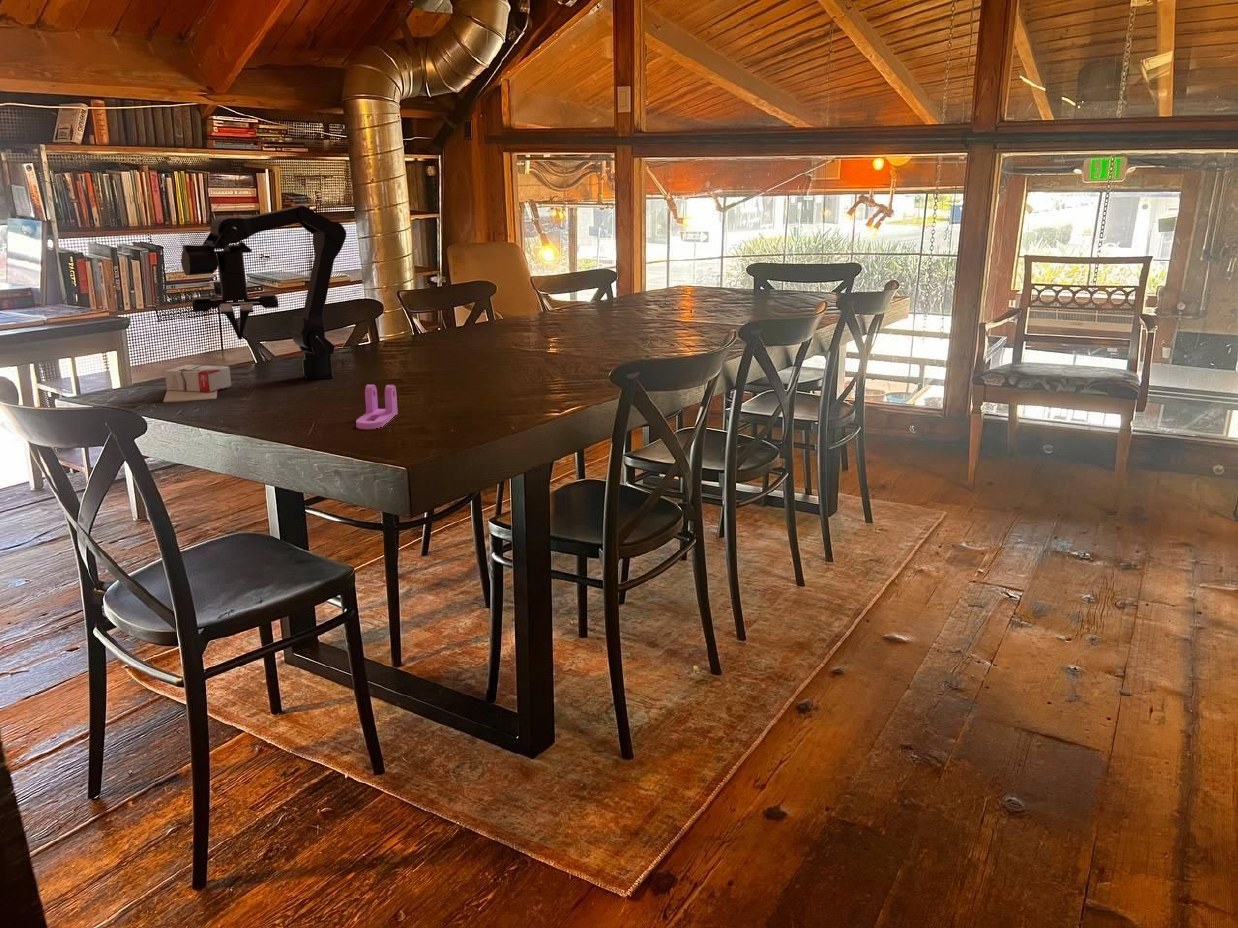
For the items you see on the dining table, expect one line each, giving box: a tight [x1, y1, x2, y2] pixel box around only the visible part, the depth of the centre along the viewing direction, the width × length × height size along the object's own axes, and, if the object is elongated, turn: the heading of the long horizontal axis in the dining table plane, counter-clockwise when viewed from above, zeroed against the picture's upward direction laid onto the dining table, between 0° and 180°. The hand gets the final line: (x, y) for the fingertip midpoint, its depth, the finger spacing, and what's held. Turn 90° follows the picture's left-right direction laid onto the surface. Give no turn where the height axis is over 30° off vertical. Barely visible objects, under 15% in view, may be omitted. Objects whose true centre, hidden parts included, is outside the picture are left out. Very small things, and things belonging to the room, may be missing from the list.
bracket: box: [355, 384, 399, 430], centre depth 192 cm, size 13×6×7 cm, turn 178°
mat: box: [163, 389, 218, 403], centre depth 218 cm, size 11×16×1 cm
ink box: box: [164, 364, 232, 392], centre depth 222 cm, size 9×5×12 cm
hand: (240, 339), depth 223 cm, fingers closed
